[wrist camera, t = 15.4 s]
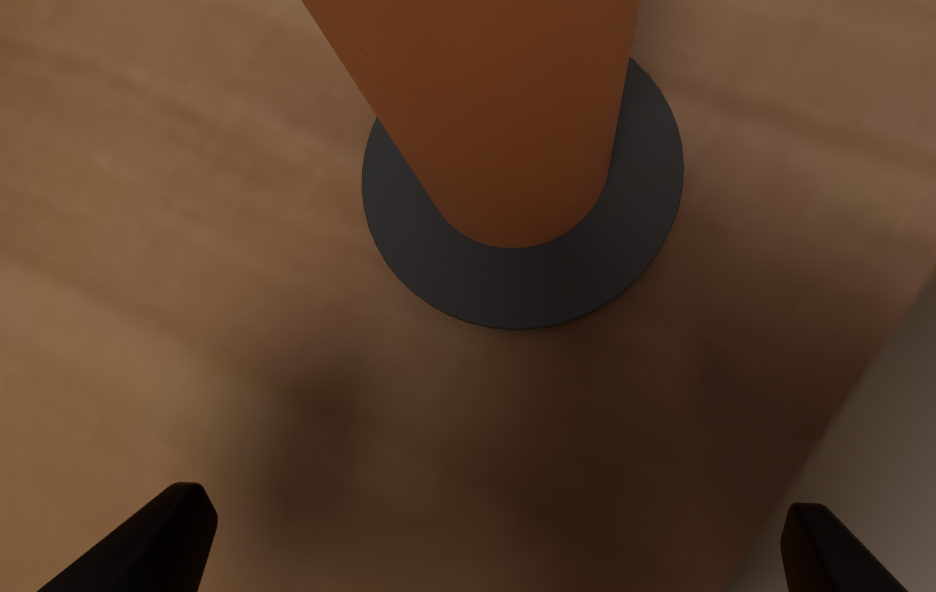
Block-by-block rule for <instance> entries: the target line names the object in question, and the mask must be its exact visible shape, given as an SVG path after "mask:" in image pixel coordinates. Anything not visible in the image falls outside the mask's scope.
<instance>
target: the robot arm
mask: <svg viewBox="0 0 936 592" xmlns="http://www.w3.org/2000/svg"><path fill="white" fill-rule="evenodd" d="M217 524H218V517H217V513H216V510H215V508H214V507H213V505H212V503H211V501H210V499H209V497H208V495H207V493H206V491H205V490H204V488H203V486H202V485H201V484H199V483H195V482H177V483H174V484H172V485H170V486H169V487H167V488H166V489H165V490H164V491H162V492H161V493H160V494H159V495H157V496H156V497H155V498H154V499H152V500H151V501H150V502H149V503H147V504H146V505H145V506H144V507H142V508H141V509H140V510H139V511H137V512H136V513H135V514H134V515H132V516H131V517H130V518H129V519H127V520H126V521H125V522H123V523H122V524H121V525H120V526H118V527H117V528H116V529H115V530H113V531H112V532H111V533H110V534H108V535H107V536H106V537H105V538H103V539H102V540H101V541H100V542H98V543H97V544H96V545H95V546H93V547H92V548H91V549H90V550H88V551H87V552H86V553H85V554H83V555H82V556H81V557H80V558H78V559H77V560H76V561H74V562H73V563H72V564H71V565H69V566H68V567H67V568H66V569H64V570H63V571H62V572H61V573H59V574H58V575H57V576H56V577H54V578H53V579H52V580H51V581H49V582H48V583H47V584H46V585H44V586H43V587H42V588H41V589H39V590H38V591H37V592H197V591H198V588H199V585H200V582H201V578H202V575H203V572H204V569H205V565H206V562H207V559H208V556H209V552H210V549H211V546H212V543H213V539H214V536H215V533H216V529H217ZM781 555H782V560H783V565H784V570H785V575H786V580H787V585H788V590H789V592H908V591H907V590H906V589H905V588H904V587H903V586H902V585H901V584H900V583H899V581H898V580H896V578H895V577H894V576H893V575H892V574H891V573H890V572H889V571H888V570H887V569H886V568H885V567H884V566H883V565H882V564H881V563H880V562H879V561H878V560H877V559H876V558H875V557H874V555H872V553H871V552H870V551H869V550H868V549H867V548H866V547H865V546H864V545H863V544H862V543H861V542H860V541H859V540H858V539H857V538H856V537H855V536H854V535H853V534H852V532H851V531H850V530H849V529H848V528H847V527H846V526H845V525H844V524H843V523H842V522H841V521H840V520H839V519H838V518H837V517H836V516H835V515H834V514H833V513H832V512H831V511H830V510H829V509H828V508H827V507H826V506H824V505H822V504H817V503H793V504H792V505H791V506H790V508H789V510H788V514H787V517H786V521H785V525H784V529H783V532H782V536H781Z"/></svg>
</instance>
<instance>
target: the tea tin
mask: <svg viewBox="0 0 936 592" xmlns="http://www.w3.org/2000/svg"><path fill="white" fill-rule="evenodd" d="M639 1H640V0H302V2H303V3H304V5H305V6H306V8H307V9H308V11H309V12H310V14H311V16H312V17H313V19H314V20H315V22H316V23H317V25H318V26H319V28H320V29H321V31H322V32H323V34H324V36H325V37H326V39H327V40H328V42H329V43H330V45H331V46H332V48H333V49H334V51H335V52H336V54H337V56H338V57H339V59H340V60H341V62H342V63H343V65H344V66H345V68H346V69H347V71H348V72H349V74H350V76H351V77H352V79H353V80H354V82H355V83H356V85H357V86H358V88H359V89H360V91H361V92H362V94H363V96H364V97H365V99H366V100H367V102H368V103H369V105H370V106H371V108H372V109H373V111H374V112H375V114H376V116H377V117H378V119H379V120H380V122H381V123H382V125H383V126H384V128H385V129H386V131H387V132H388V134H389V136H390V137H391V139H392V140H393V142H394V143H395V145H396V146H397V148H398V149H399V151H400V152H401V154H402V156H403V157H404V159H405V160H406V162H407V163H408V165H409V166H410V168H411V169H412V171H413V172H414V174H415V176H416V177H417V179H418V180H419V182H420V183H421V185H422V186H423V188H424V189H425V191H426V192H427V194H428V196H429V197H430V199H431V200H432V202H433V203H434V205H435V206H436V208H437V209H438V211H439V212H440V214H441V215H442V216H443V217H444V218H445V220H446V221H447V222H448V223H449V224H450V225H451V226H453V227H454V228H455V229H456V230H457V231H459V232H460V233H462V234H463V235H465V236H467V237H469V238H471V239H473V240H475V241H477V242H480V243H483V244H486V245H490V246H495V247H500V248H523V247H530V246H535V245H539V244H542V243H545V242H548V241H551V240H553V239H555V238H557V237H559V236H561V235H563V234H564V233H566V232H567V231H569V230H570V229H572V228H573V227H574V226H576V225H577V224H578V223H579V222H580V221H581V220H582V219H583V218H584V217H585V216H586V215H587V214H588V213H589V212H590V210H591V209H592V208H593V206H594V205H595V203H596V202H597V200H598V198H599V196H600V194H601V192H602V190H603V188H604V185H605V182H606V179H607V175H608V170H609V165H610V160H611V154H612V149H613V143H614V138H615V132H616V127H617V121H618V116H619V111H620V105H621V100H622V94H623V89H624V83H625V78H626V72H627V67H628V61H629V56H630V50H631V45H632V39H633V34H634V28H635V23H636V17H637V12H638V6H639Z"/></svg>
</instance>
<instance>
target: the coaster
mask: <svg viewBox="0 0 936 592" xmlns="http://www.w3.org/2000/svg"><path fill="white" fill-rule="evenodd" d="M683 171H684V165H683V153H682V145H681V140H680V136H679V131H678V127H677V124H676V122H675V119H674V117H673V114H672V111H671V109H670V107H669V105H668V103H667V101H666V100H665V98H664V96H663V94H662V92H661V91H660V89H659V88H658V87H657V85H656V84H655V83H654V81H653V80H652V79H651V78H650V76H649V75H648V74H647V73H646V72H645V71H644V70H643V69H642V68H641V67H640V66H639V65H638V64H637V63H636V62H635V61H634V60H633V59H632V58H630V57H629V61H628V67H627V72H626V78H625V83H624V89H623V94H622V100H621V105H620V111H619V116H618V121H617V127H616V132H615V138H614V143H613V149H612V154H611V160H610V165H609V170H608V175H607V179H606V182H605V185H604V188H603V190H602V192H601V194H600V196H599V198H598V200H597V202H596V203H595V205H594V206H593V208H592V209H591V210H590V212H589V213H588V214H587V215H586V216H585V217H584V218H583V219H582V220H581V221H580V222H579V223H578V224H577V225H576V226H574V227H573V228H572V229H570V230H569V231H567V232H566V233H564V234H563V235H561V236H559V237H557V238H555V239H553V240H551V241H548V242H545V243H542V244H539V245H535V246H530V247H523V248H500V247H495V246H490V245H486V244H483V243H480V242H477V241H475V240H473V239H471V238H469V237H467V236H465V235H463V234H462V233H460V232H459V231H457V230H456V229H455V228H454V227H453V226H451V225H450V224H449V223H448V222H447V221H446V220H445V218H444V217H443V216H442V215H441V214H440V212H439V211H438V209H437V208H436V206H435V205H434V203H433V202H432V200H431V199H430V197H429V196H428V194H427V192H426V191H425V189H424V188H423V186H422V185H421V183H420V182H419V180H418V179H417V177H416V176H415V174H414V172H413V171H412V169H411V168H410V166H409V165H408V163H407V162H406V160H405V159H404V157H403V156H402V154H401V152H400V151H399V149H398V148H397V146H396V145H395V143H394V142H393V140H392V139H391V137H390V136H389V134H388V132H387V131H386V129H385V128H384V126H383V125H382V123H381V122H380V120H379V119H378V117H377V118H376V120H375V123H374V125H373V127H372V130H371V132H370V136H369V139H368V143H367V146H366V150H365V155H364V162H363V168H362V195H363V204H364V210H365V214H366V218H367V222H368V226H369V229H370V231H371V234H372V236H373V239H374V241H375V244H376V246H377V248H378V249H379V251H380V253H381V255H382V256H383V258H384V260H385V261H386V263H387V264H388V266H389V267H390V268H391V269H392V271H393V272H394V273H395V274H396V276H397V277H398V278H399V279H400V280H401V281H402V282H403V283H404V284H405V285H406V286H407V287H408V288H409V289H410V290H411V291H412V292H413V293H415V294H416V295H417V296H419V297H420V298H421V299H423V300H424V301H426V302H427V303H428V304H430V305H431V306H433V307H435V308H436V309H438V310H440V311H442V312H444V313H446V314H447V315H449V316H452V317H454V318H457V319H460V320H462V321H465V322H468V323H471V324H475V325H480V326H484V327H488V328H496V329H506V330H525V329H537V328H543V327H549V326H555V325H558V324H561V323H565V322H568V321H572V320H575V319H577V318H579V317H582V316H584V315H586V314H588V313H591V312H593V311H595V310H597V309H598V308H600V307H602V306H603V305H605V304H607V303H608V302H610V301H611V300H613V299H615V298H616V297H617V296H618V295H620V294H621V293H622V292H623V291H624V290H626V289H627V288H628V287H629V286H631V285H632V284H633V283H634V282H635V280H636V279H637V278H638V277H639V276H640V275H641V274H642V273H643V272H644V271H645V270H646V269H647V267H648V266H649V265H650V263H651V262H652V260H653V259H654V258H655V256H656V255H657V253H658V252H659V250H660V249H661V247H662V245H663V243H664V241H665V239H666V237H667V236H668V234H669V232H670V230H671V227H672V224H673V222H674V219H675V216H676V213H677V211H678V207H679V202H680V197H681V193H682V186H683Z"/></svg>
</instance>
